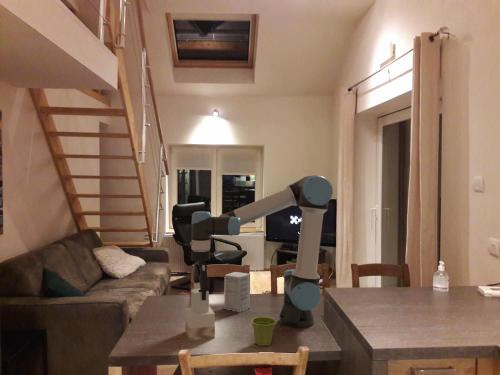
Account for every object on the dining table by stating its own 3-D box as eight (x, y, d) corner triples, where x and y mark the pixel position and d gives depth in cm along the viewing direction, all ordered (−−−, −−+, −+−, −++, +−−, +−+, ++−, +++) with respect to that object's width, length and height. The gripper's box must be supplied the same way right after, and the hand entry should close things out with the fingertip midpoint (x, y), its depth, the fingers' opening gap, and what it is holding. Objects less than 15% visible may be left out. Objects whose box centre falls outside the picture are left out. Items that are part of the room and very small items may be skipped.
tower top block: (209, 318, 168) (209, 306, 168) (214, 326, 158) (214, 313, 158) (185, 320, 165) (185, 308, 165) (189, 328, 155) (189, 315, 155)
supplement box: (250, 308, 198) (251, 273, 198) (240, 313, 190) (240, 277, 190) (234, 304, 203) (235, 271, 203) (223, 309, 195) (224, 274, 195)
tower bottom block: (209, 330, 168) (209, 318, 168) (214, 339, 158) (214, 326, 158) (185, 332, 165) (185, 320, 165) (189, 341, 155) (189, 328, 155)
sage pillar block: (205, 307, 166) (205, 288, 166) (208, 312, 160) (208, 292, 160) (190, 308, 164) (191, 289, 164) (193, 313, 158) (193, 293, 158)
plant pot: (258, 336, 160) (258, 315, 160) (279, 341, 156) (280, 319, 156) (246, 344, 152) (246, 322, 152) (268, 350, 148) (268, 326, 147)
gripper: (187, 245, 172) (186, 295, 173) (196, 256, 149) (195, 313, 149) (204, 245, 175) (203, 294, 175) (216, 255, 151) (215, 311, 151)
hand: (200, 303), depth 162 cm, fingers open, 13 cm apart
